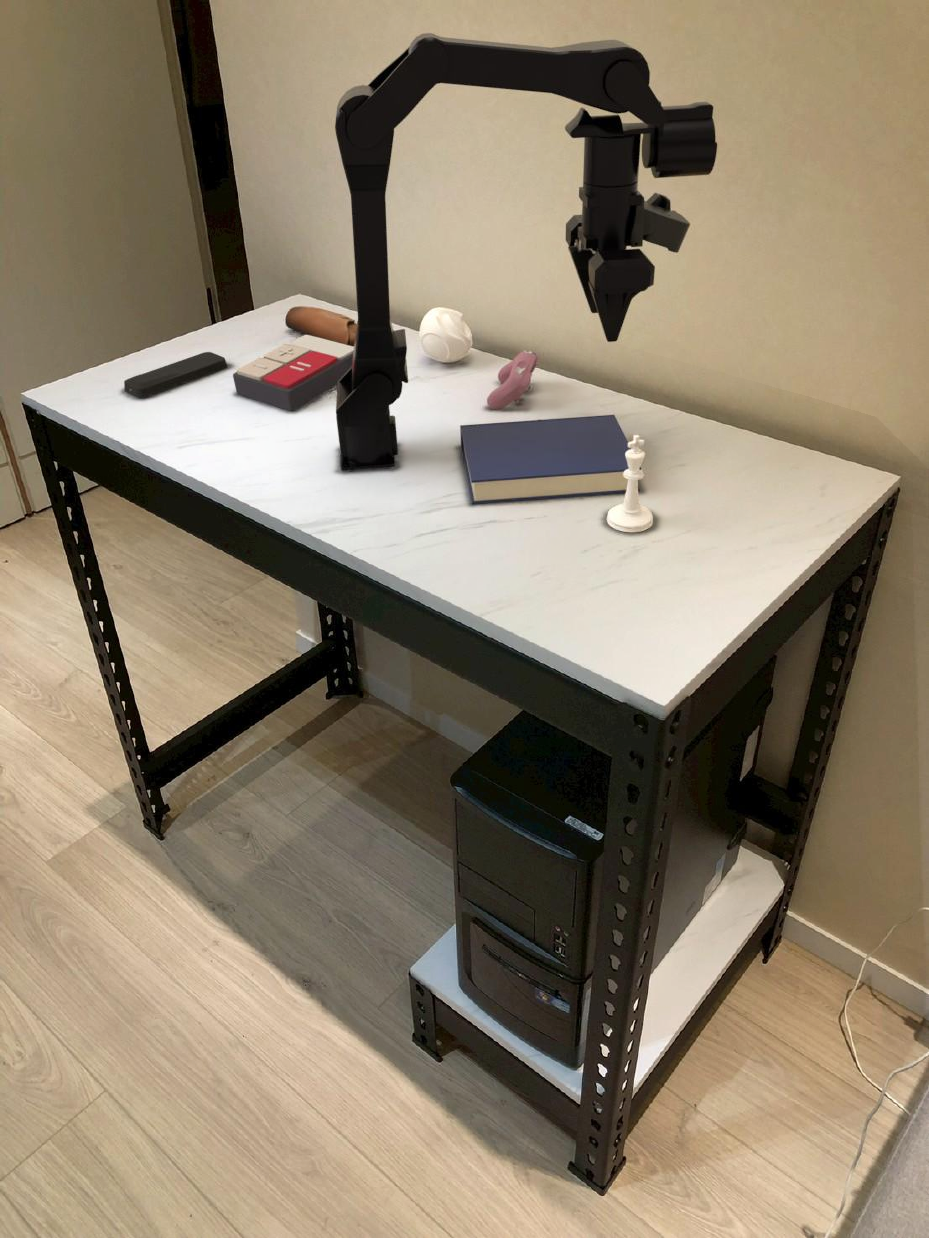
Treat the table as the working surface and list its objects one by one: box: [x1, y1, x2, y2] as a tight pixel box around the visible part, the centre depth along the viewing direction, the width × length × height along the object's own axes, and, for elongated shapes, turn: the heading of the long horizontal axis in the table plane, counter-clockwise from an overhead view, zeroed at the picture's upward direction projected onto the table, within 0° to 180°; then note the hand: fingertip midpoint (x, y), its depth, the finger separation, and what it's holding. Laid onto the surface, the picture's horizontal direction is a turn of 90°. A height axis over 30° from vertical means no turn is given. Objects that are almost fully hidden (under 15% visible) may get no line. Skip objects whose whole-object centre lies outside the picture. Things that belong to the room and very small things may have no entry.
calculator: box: [232, 334, 354, 412], centre depth 137 cm, size 11×4×15 cm
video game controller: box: [486, 349, 540, 410], centre depth 131 cm, size 10×5×7 cm, turn 168°
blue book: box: [459, 414, 642, 505], centre depth 115 cm, size 19×14×3 cm
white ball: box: [418, 307, 473, 364], centre depth 141 cm, size 8×8×8 cm
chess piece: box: [606, 434, 654, 533], centre depth 103 cm, size 5×5×10 cm
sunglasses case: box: [284, 305, 357, 347], centre depth 150 cm, size 18×7×7 cm
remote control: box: [123, 351, 228, 399], centre depth 141 cm, size 5×2×15 cm
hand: (603, 326), depth 112 cm, fingers open, 9 cm apart
